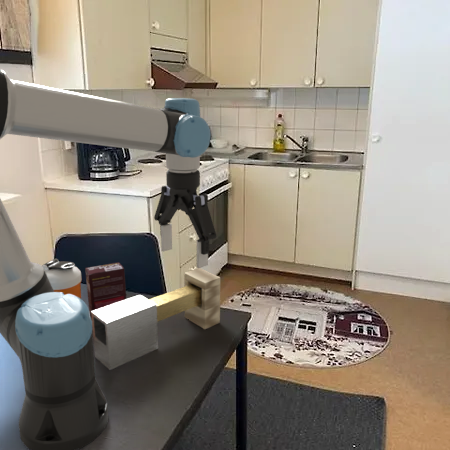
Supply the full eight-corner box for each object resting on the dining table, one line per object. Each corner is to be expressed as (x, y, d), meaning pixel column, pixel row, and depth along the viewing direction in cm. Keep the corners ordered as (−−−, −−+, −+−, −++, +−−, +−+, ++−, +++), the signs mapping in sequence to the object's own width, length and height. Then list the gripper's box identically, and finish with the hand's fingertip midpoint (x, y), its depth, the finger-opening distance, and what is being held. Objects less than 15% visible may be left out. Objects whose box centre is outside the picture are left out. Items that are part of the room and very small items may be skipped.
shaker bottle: (74, 355, 104) (67, 273, 98) (38, 350, 106) (28, 269, 100) (93, 334, 112) (87, 257, 106) (59, 330, 114) (51, 254, 108)
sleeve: (110, 370, 99) (106, 323, 96) (94, 356, 104) (91, 311, 100) (158, 348, 107) (156, 304, 104) (142, 337, 112) (140, 294, 108)
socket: (204, 329, 116) (204, 283, 112) (184, 317, 121) (184, 272, 117) (219, 322, 119) (220, 277, 115) (199, 311, 124) (199, 267, 121)
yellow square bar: (139, 329, 104) (138, 313, 103) (129, 322, 107) (128, 306, 105) (207, 301, 117) (207, 287, 116) (197, 296, 120) (196, 282, 118)
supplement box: (123, 318, 120) (120, 261, 115) (128, 327, 116) (125, 268, 111) (89, 325, 116) (84, 267, 112) (93, 335, 112) (88, 274, 108)
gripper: (233, 176, 98) (231, 269, 104) (164, 160, 115) (165, 240, 122) (206, 181, 93) (206, 278, 100) (138, 163, 110) (141, 247, 117)
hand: (183, 258), depth 111 cm, fingers open, 13 cm apart
